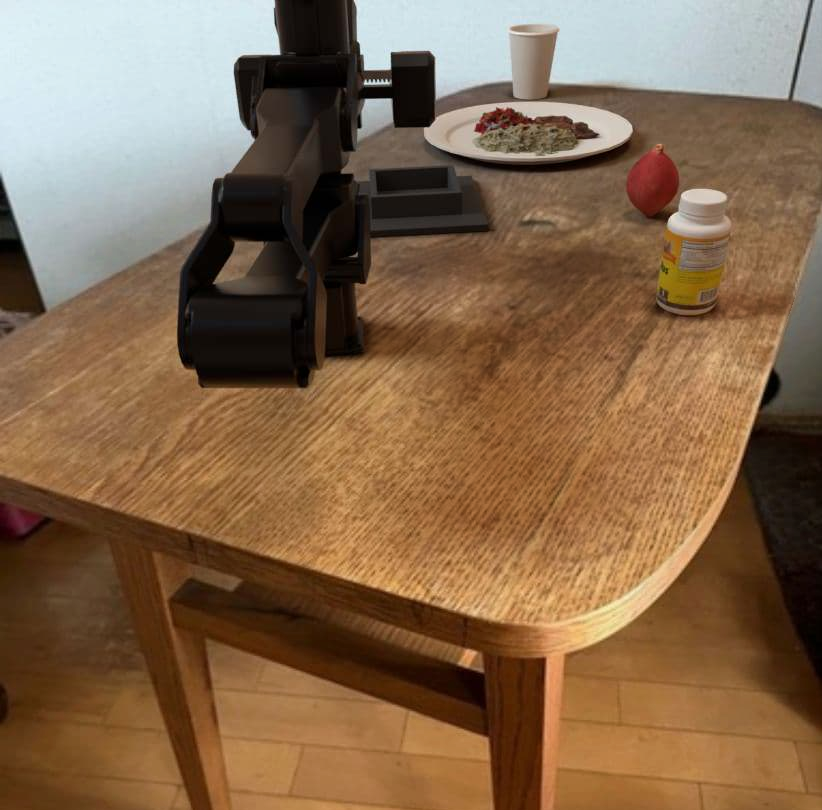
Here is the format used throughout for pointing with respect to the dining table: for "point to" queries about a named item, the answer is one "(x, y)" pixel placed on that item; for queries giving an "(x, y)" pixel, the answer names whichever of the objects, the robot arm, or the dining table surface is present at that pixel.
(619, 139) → the plated food
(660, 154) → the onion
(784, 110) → the dining table surface
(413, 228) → the dock pad
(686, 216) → the supplement bottle
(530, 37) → the dixie cup
